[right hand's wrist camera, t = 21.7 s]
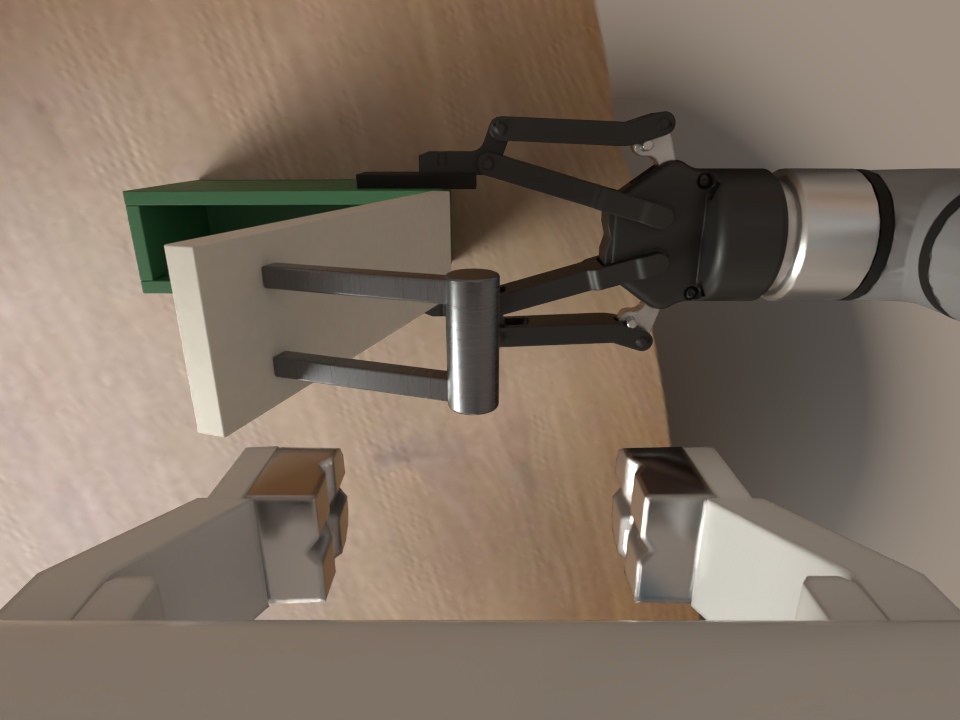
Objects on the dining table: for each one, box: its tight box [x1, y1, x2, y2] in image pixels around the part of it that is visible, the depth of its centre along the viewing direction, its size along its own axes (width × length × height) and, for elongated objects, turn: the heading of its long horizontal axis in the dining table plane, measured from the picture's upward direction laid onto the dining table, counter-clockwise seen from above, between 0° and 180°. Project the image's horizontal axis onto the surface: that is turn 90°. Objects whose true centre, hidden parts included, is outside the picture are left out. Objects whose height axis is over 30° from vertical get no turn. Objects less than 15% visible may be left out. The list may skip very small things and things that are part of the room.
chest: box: [123, 180, 452, 293], centre depth 37 cm, size 17×6×9 cm, turn 90°
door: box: [164, 191, 500, 437], centre depth 23 cm, size 18×6×8 cm
